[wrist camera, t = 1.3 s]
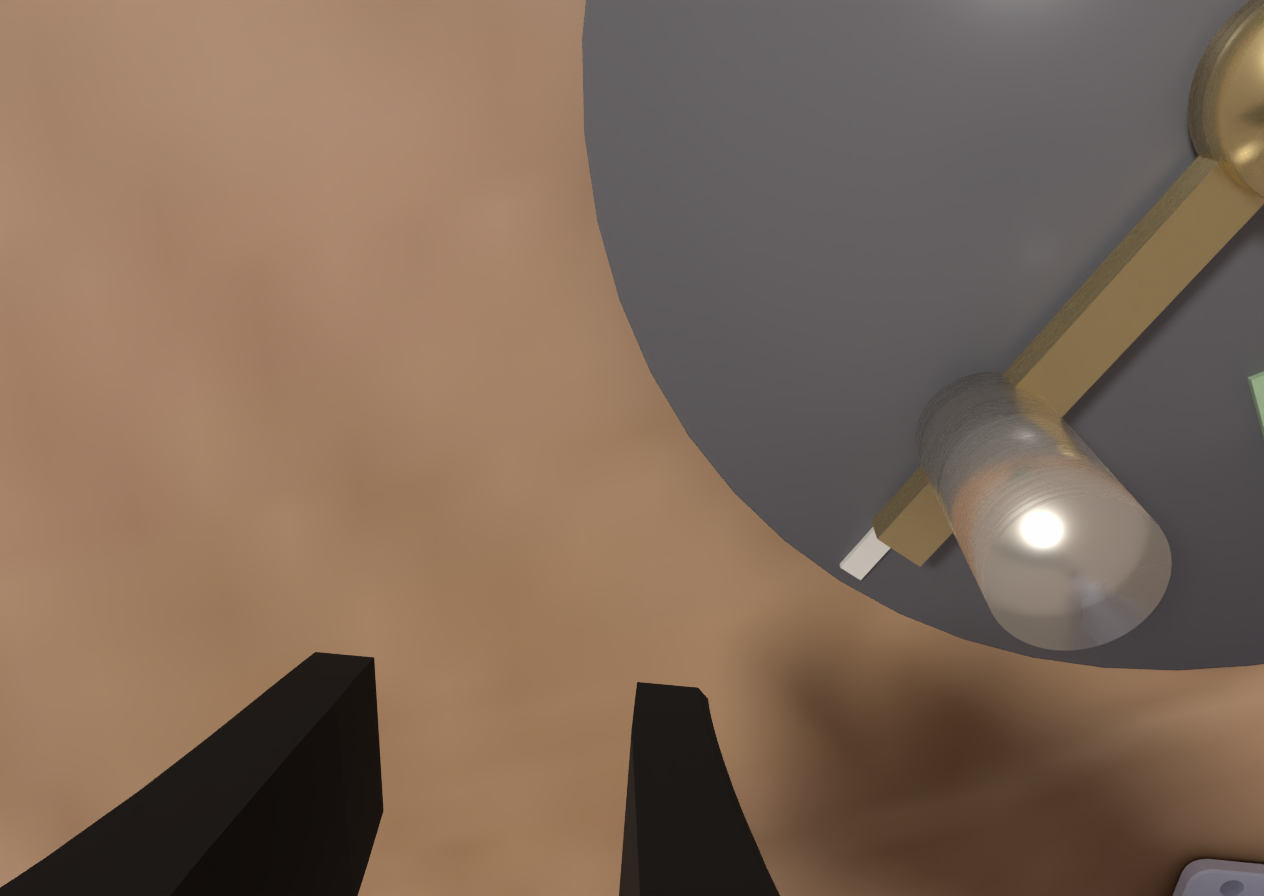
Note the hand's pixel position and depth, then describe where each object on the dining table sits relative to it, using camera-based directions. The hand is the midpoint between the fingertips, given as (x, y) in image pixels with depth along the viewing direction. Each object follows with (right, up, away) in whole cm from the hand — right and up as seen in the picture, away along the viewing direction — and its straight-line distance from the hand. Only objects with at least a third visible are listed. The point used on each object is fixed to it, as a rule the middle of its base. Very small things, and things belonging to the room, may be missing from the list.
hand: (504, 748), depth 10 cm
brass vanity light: (+9, +6, +6) cm, 12 cm away
